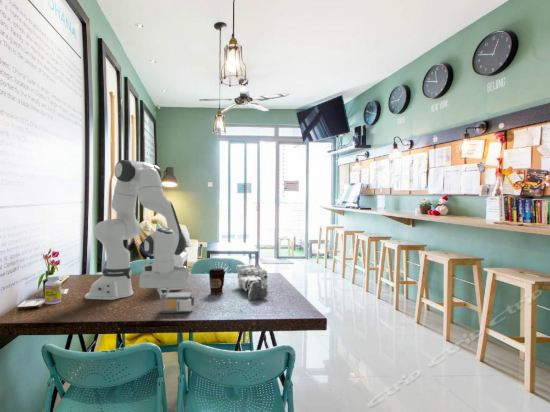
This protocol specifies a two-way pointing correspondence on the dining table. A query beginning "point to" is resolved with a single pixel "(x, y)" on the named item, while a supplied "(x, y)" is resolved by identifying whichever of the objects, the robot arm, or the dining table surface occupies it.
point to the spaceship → (252, 280)
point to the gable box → (180, 264)
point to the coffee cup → (216, 280)
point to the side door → (183, 304)
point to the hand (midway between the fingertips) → (163, 298)
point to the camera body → (174, 302)
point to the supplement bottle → (53, 290)
